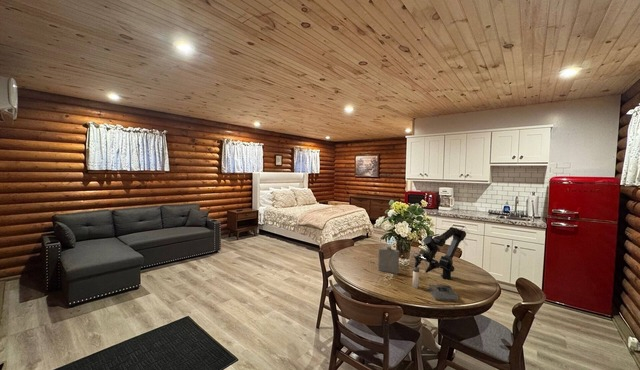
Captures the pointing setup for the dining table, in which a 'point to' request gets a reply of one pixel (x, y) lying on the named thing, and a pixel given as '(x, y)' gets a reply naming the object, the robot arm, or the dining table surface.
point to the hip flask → (388, 260)
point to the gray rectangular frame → (443, 292)
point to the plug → (415, 277)
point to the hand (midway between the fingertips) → (420, 270)
